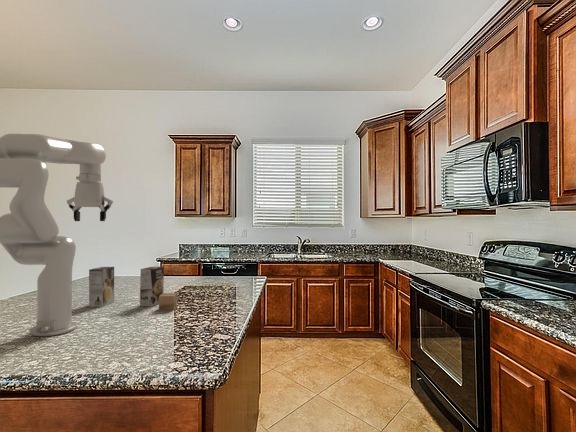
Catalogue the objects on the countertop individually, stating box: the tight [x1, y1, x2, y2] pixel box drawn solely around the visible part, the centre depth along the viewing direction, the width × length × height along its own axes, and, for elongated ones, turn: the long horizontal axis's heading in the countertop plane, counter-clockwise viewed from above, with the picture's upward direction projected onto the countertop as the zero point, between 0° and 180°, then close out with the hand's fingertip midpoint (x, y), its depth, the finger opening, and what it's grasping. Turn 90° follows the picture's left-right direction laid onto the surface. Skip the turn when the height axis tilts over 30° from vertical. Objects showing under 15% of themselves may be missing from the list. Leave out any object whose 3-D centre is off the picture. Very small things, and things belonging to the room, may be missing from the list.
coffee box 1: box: [88, 266, 115, 308], centre depth 148 cm, size 9×6×16 cm
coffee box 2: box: [139, 266, 165, 308], centre depth 148 cm, size 9×6×16 cm
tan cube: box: [158, 292, 178, 312], centre depth 140 cm, size 6×6×6 cm
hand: (89, 221), depth 136 cm, fingers open, 9 cm apart
